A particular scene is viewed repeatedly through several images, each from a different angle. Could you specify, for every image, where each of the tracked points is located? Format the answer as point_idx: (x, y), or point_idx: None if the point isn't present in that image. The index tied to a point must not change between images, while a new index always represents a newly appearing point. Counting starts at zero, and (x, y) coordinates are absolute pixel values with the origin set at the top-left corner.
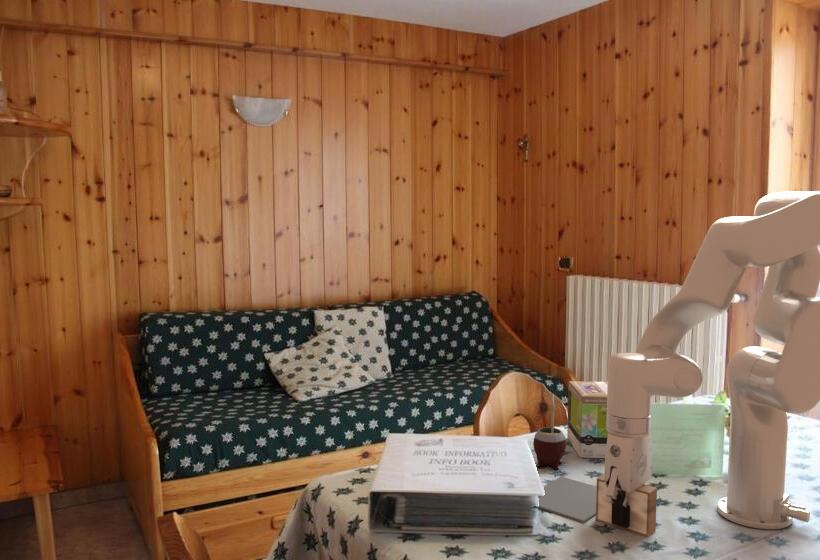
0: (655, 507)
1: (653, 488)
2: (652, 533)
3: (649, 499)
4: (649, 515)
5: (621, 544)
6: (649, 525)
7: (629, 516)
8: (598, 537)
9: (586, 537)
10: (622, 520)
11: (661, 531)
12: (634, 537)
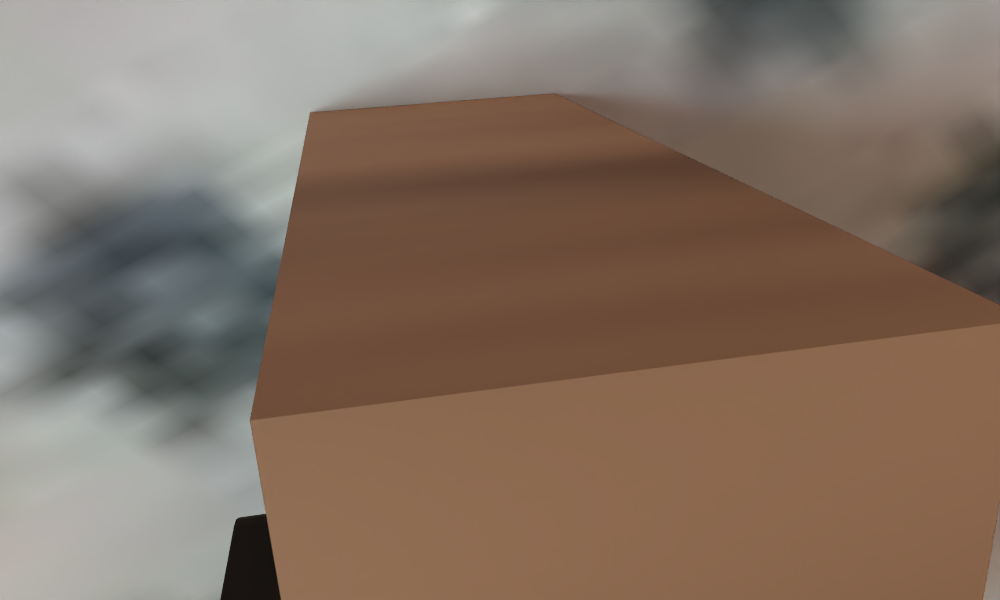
0: (343, 192)
1: (462, 479)
2: (414, 105)
3: (866, 244)
4: (647, 146)
5: (942, 225)
6: (572, 116)
7: None
8: None
9: None
10: None
11: (244, 44)
12: None
